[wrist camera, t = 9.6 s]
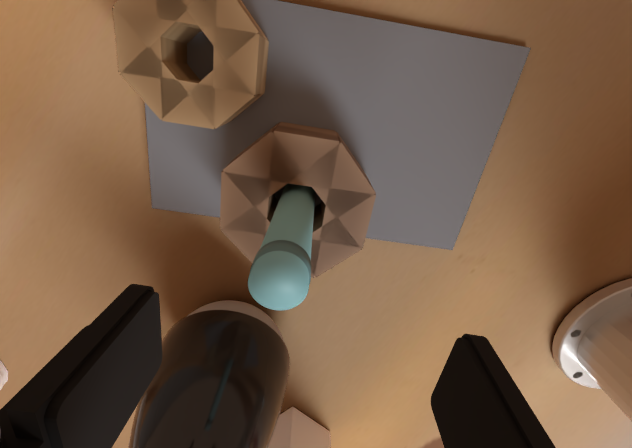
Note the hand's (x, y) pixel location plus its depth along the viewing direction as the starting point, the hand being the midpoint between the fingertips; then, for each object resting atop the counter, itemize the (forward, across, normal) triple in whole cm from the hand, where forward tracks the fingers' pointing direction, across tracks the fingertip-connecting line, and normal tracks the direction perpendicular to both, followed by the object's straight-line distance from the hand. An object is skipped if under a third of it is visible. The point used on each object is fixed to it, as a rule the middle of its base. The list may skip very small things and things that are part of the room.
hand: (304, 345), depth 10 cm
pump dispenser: (+15, +6, +14) cm, 21 cm away
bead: (+14, +1, 0) cm, 14 cm away
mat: (+14, 0, -4) cm, 15 cm away
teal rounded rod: (+14, +1, 0) cm, 14 cm away
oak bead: (+14, +8, -8) cm, 18 cm away
